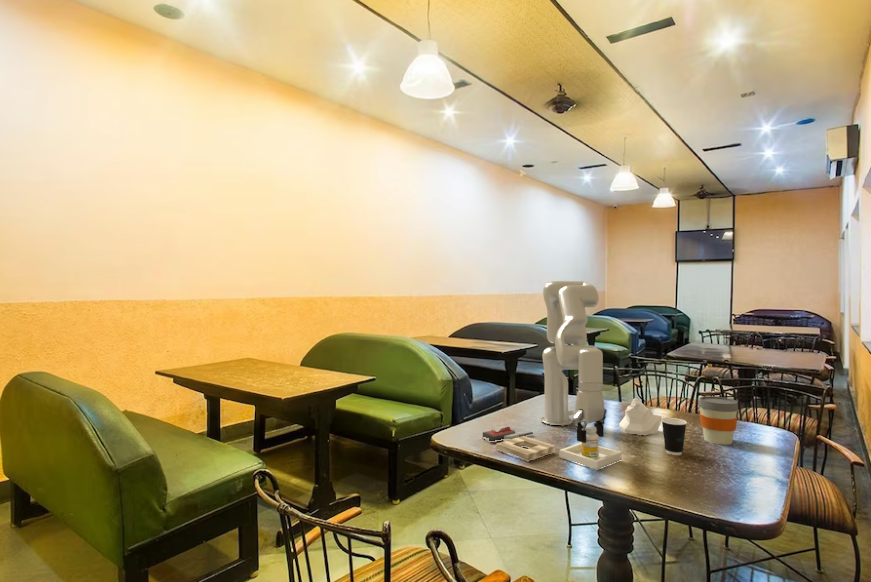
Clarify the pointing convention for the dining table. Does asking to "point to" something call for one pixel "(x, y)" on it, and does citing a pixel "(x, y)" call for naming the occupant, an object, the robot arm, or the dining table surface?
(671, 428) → the dixie cup
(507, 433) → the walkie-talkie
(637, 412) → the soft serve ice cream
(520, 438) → the socket block
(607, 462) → the tray
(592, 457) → the supplement bottle
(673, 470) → the dining table surface
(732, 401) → the reusable coffee cup
